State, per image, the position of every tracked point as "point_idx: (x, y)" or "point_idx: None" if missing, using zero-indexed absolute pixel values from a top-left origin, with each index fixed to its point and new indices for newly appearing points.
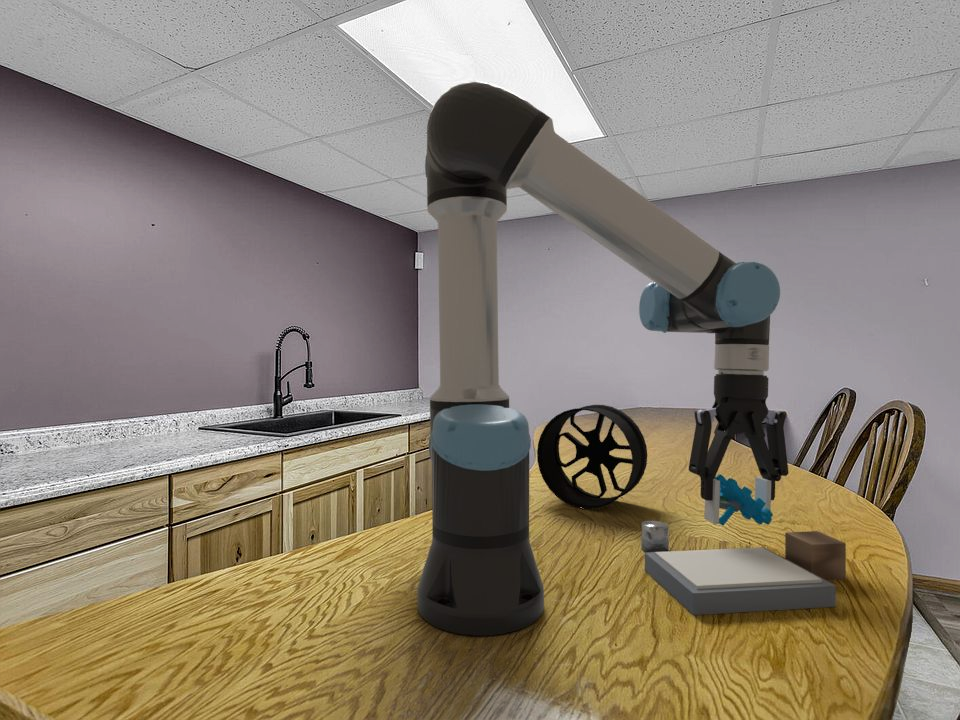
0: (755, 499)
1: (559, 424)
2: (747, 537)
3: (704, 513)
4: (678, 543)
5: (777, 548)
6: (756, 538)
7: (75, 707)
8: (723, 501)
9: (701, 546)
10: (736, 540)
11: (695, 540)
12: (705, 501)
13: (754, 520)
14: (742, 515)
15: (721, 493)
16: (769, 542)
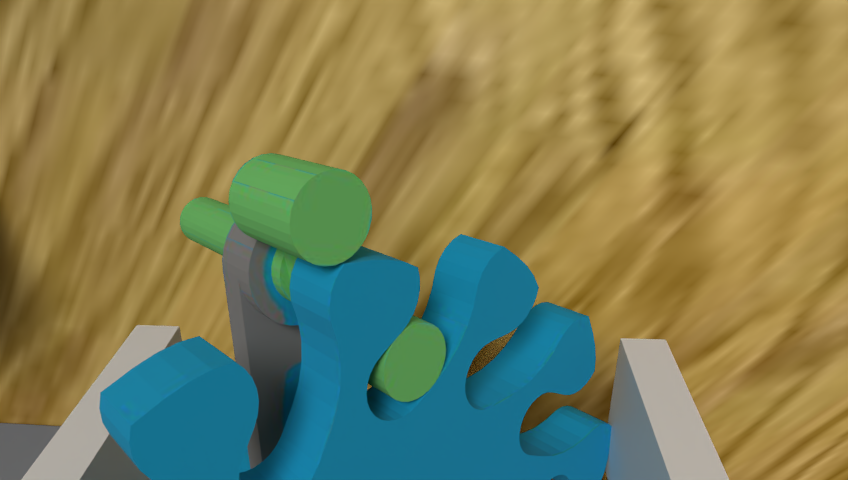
0: (668, 476)
1: None
2: (704, 18)
3: (180, 224)
4: (90, 78)
5: (728, 261)
6: (758, 52)
7: None
8: (259, 462)
9: (232, 156)
10: (560, 75)
11: (240, 32)
12: (59, 440)
13: (550, 415)
14: (528, 315)
15: (323, 344)
16: (780, 150)
